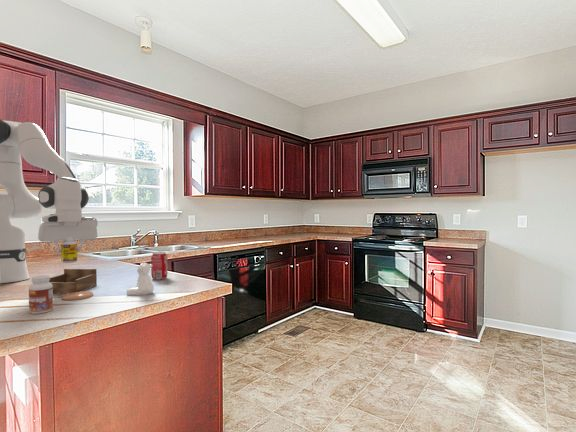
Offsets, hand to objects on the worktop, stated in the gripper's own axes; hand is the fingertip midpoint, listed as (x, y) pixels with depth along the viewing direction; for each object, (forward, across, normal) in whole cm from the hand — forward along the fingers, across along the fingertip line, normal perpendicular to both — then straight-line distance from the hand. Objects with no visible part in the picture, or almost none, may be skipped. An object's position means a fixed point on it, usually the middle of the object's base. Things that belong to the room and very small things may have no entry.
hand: (69, 251), depth 141 cm
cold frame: (+15, 0, +1) cm, 15 cm away
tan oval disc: (+15, 0, +17) cm, 23 cm away
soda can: (+15, -35, +6) cm, 38 cm away
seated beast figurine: (+15, -19, +28) cm, 37 cm away
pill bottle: (+15, +13, +30) cm, 36 cm away
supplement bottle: (+5, 0, 0) cm, 5 cm away
